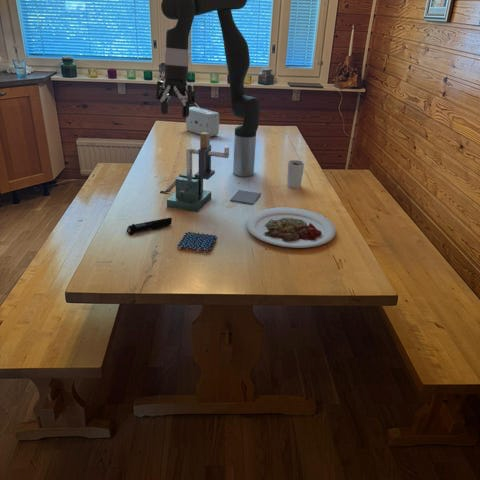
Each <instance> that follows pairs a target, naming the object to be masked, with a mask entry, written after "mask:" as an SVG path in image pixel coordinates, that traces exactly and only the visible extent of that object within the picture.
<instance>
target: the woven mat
mask: <svg viewBox="0 0 480 480" xmlns="http://www.w3.org/2000/svg"><path fill="white" fill-rule="evenodd" d="M217 240H218V237H217V235H216V234H215V235H214V234H207V233H199V232H195V231H194V232H192V231H188V232H184V235H183V236H182V237H181V239H180V241H179V242H178V243H177V249H178V250H179V251H180V250H183V251H186V252H187V251H190V252H193V253H195V252H196V253H199V251H200V253H203V254H206V253H207V254H210V253H211V252H212V250H213V248H214V246H215V244H216V243H217V242H216V241H217ZM202 251H203V252H202ZM206 251H207V252H206Z"/></svg>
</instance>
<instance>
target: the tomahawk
mask: <svg viewBox="0 0 480 480" xmlns="http://www.w3.org/2000/svg"><path fill="white" fill-rule="evenodd" d="M181 174H182V173H180V174H179V175H178V177H180V175H181ZM174 187H176V181H175V180H174V181H173V182H172V183H171V184H170V185H169V186H168V187H167V189H166V190H160V192H159V193H160V194H161V193H162V194H163V193H164V195H169V194H170V193H167V192H171V191H172V189H173V188H174Z"/></svg>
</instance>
